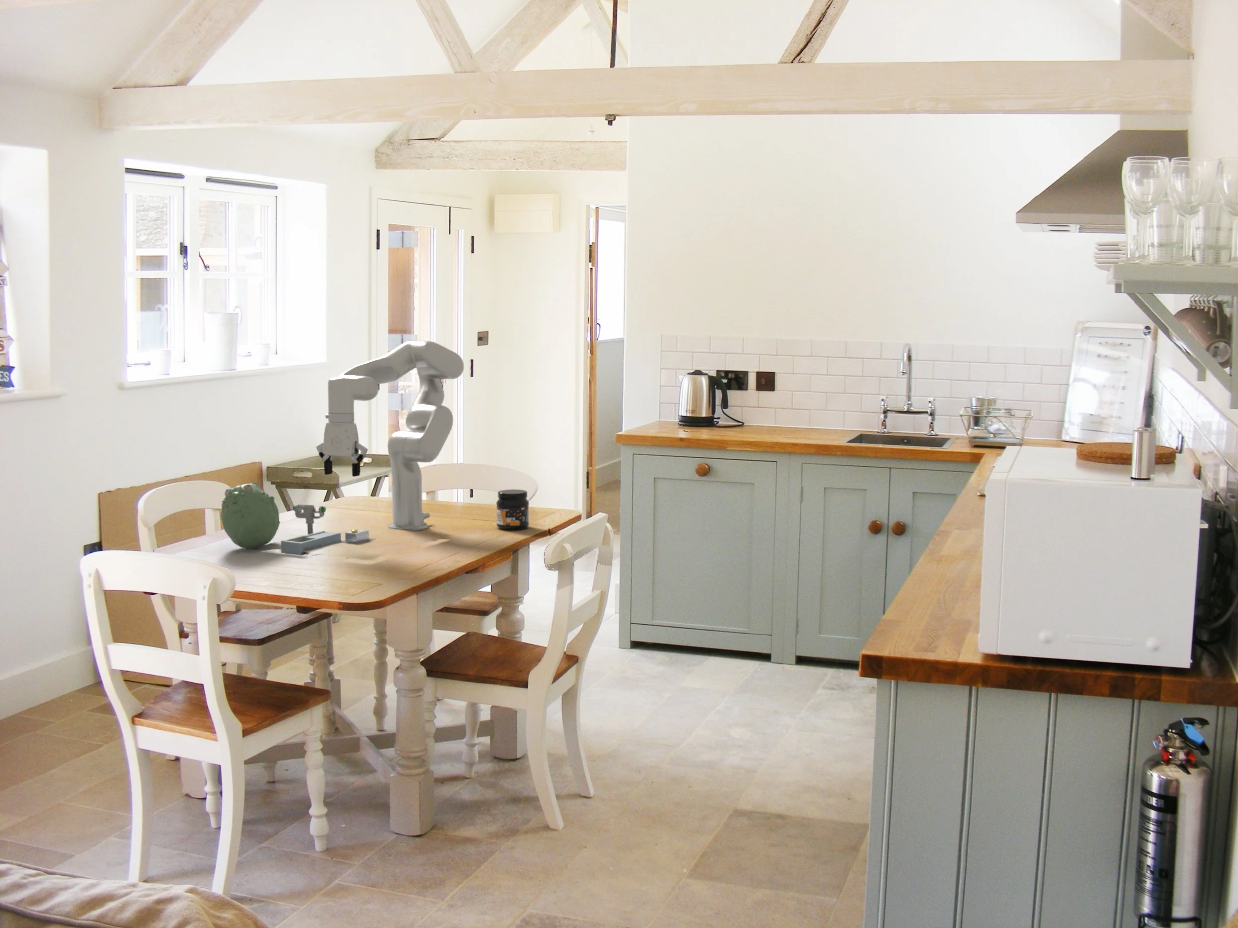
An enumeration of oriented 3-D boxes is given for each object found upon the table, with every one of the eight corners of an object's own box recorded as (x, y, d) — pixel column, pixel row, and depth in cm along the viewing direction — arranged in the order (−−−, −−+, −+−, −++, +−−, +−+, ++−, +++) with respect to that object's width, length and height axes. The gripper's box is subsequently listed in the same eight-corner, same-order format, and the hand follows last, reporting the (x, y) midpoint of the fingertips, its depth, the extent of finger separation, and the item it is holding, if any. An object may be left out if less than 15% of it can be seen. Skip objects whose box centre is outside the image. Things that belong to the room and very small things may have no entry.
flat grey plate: (357, 540, 368) (357, 536, 367) (375, 542, 364) (375, 538, 364) (338, 545, 360) (338, 542, 359) (357, 548, 356) (356, 544, 356)
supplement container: (492, 530, 385) (491, 493, 383) (502, 524, 395) (502, 488, 393) (523, 531, 382) (522, 494, 381) (533, 525, 392) (533, 489, 391)
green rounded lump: (291, 543, 363) (289, 478, 360) (259, 556, 345) (256, 487, 342) (245, 541, 367) (242, 476, 364) (210, 553, 348) (207, 485, 346)
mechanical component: (323, 538, 370) (322, 507, 369) (292, 537, 372) (291, 505, 371) (327, 537, 373) (326, 505, 372) (297, 535, 375) (296, 504, 374)
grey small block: (358, 538, 365) (358, 527, 365) (368, 539, 364) (368, 528, 363) (345, 541, 360) (345, 530, 360) (356, 542, 358) (355, 531, 358)
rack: (322, 541, 365) (322, 530, 365) (342, 544, 362) (341, 532, 362) (281, 552, 350) (280, 540, 349) (301, 555, 346) (301, 543, 346)
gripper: (309, 418, 358) (310, 474, 360) (359, 420, 352) (360, 478, 354) (324, 416, 365) (325, 472, 367) (373, 418, 359) (373, 475, 361)
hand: (342, 475), depth 361 cm, fingers open, 9 cm apart
